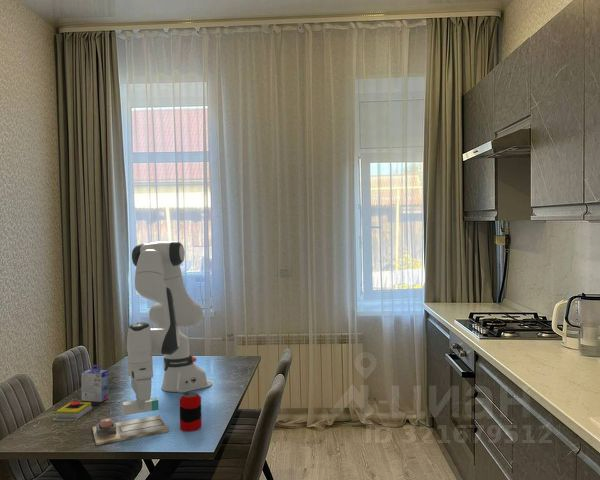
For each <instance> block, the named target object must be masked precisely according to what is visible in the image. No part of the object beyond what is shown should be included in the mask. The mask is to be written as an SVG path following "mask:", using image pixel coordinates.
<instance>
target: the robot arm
mask: <svg viewBox="0 0 600 480" xmlns="http://www.w3.org/2000/svg"><path fill="white" fill-rule="evenodd" d="M131 251H132V252H131V259H132V260H131V261H132V264H133V265H134V266H135V272H134V273H135V274H134V288H135V290H136V292H137V294H138V295H140V296H141V297H142V298H145V299H146V300H149V301H152V302H155V303H154V304H153V305H152V306H151V307H150V309H149V312H148V316H149V320H150V322H151V323H152V324H153V325H155V326H156V328H155V327H154V328H153V327H151V325H150V324H149V323H147V322H145V321H143V322H135V323H132V324H130V325H129V326H128V330H127V336H126V337H127V338H126V352H127V359H126V373H127V374H126V375H127V376H128V377H129V376H130V380H131V381H130V382H131V386H130V387H131V389H132V391H133V393H134V394H135V399H136V400H139V409H140V410H141V409H144V408H145V401H149V400H150V398H152V397H151V396H152V383H153V382H152V378H154V370H153V365H154V362H153V356H152V355H163V356H164V357H163V362H162V363H163V365H162V367H163V377H162V384H161V390H163V391H165V392H172V393H178V394H179V393H180V394H181V393H183V394H184V393H188V392H191V391H196V390H200V389H205V388H209V387H212V381H211V379H209V378H208V377H207V374H206V372H205V370H204V369H203V368H202V367H201V366H199V365H197V364H196V363H195V362H197V357H195V356H192V355H190V340H189V337H188V335H186V334H184V333H183V332H182V331H181V330H180V327H181V328H185V327H186V328H189V327H190V328H191V327H196V326H199V325H200V324H201V322H202V321H203V318H204V311H203V307H201V305H200V304H198V303H197V302H195V300H193V299H192V298H191V296H190V295H189V294H188V292H187V290H186V287H185V284H184V279H183V274H182V268H181V265H182V263H183V262H184V261H185V255H186V254H185V253H186V252H185V248H184V246H183V244H182V243H181V242H180V241H176V240H172V241H156V242H155V241H154V242H149V243H141V244H137V245H135V246H134V248H133V249H132V250H131Z"/></svg>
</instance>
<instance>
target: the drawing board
mask: <svg viewBox="0 0 600 480" xmlns="http://www.w3.org/2000/svg"><path fill="white" fill-rule="evenodd" d="M91 430H92V433H93V438H94V443H95V445H96V446H101V445H104V444H105V443H106V444H109V443H115V442H116V443H117V442H121V441H126V440H131V439H139V438H143V437H148V436H152V435H153V436H154V435H159V434H163V433H168V432H169V431H170V430H169V427H168V426H167V423H166V422H165V421H164V420H163V417H162V416H161V415H153V416H148V417H142V418H136V419H130V420H125V421H119V422H115V421H114V420H112V427H107V428H101V429H100V423H96V424H95V426H92V428H91Z"/></svg>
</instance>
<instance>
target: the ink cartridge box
mask: <svg viewBox="0 0 600 480" xmlns="http://www.w3.org/2000/svg"><path fill="white" fill-rule="evenodd" d="M108 399H109V370H107V369H101V364H93V365H92V367H91V369H86V370H85V371H82V372H81V402H99V403H101V402H103V401H106V400H108Z"/></svg>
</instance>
